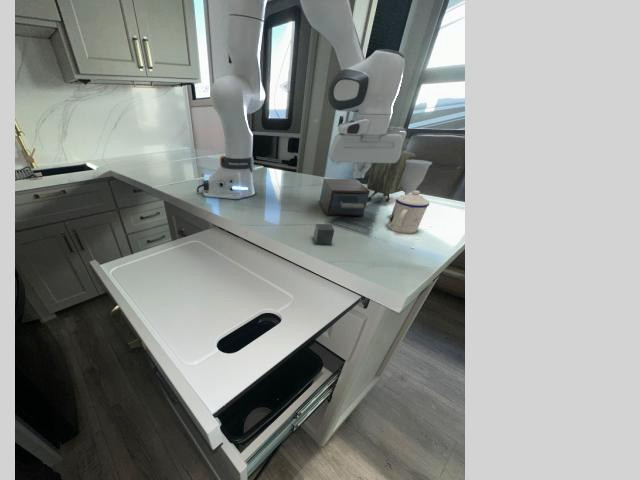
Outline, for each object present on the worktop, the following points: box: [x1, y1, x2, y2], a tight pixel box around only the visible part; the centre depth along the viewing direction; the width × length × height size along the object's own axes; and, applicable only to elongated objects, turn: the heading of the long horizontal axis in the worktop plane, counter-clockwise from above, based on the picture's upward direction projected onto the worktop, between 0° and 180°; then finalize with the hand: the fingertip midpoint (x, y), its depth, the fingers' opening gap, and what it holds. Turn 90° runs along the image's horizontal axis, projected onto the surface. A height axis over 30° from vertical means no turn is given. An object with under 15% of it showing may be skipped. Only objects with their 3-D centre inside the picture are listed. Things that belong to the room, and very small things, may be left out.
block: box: [312, 223, 335, 246], centre depth 77 cm, size 4×4×4 cm
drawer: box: [329, 193, 369, 216], centre depth 95 cm, size 19×11×7 cm, turn 176°
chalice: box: [389, 159, 433, 218], centre depth 88 cm, size 7×7×18 cm
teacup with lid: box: [387, 189, 430, 234], centre depth 82 cm, size 12×9×12 cm
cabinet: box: [319, 178, 371, 217], centre depth 99 cm, size 16×13×9 cm
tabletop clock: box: [366, 128, 418, 203], centre depth 101 cm, size 14×9×25 cm, turn 122°
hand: (358, 178), depth 84 cm, fingers closed
